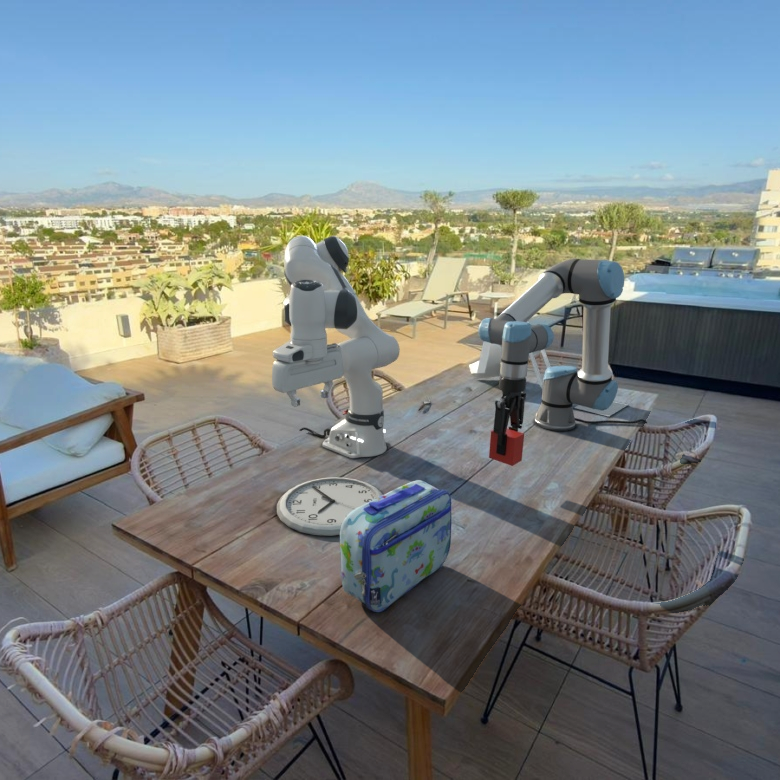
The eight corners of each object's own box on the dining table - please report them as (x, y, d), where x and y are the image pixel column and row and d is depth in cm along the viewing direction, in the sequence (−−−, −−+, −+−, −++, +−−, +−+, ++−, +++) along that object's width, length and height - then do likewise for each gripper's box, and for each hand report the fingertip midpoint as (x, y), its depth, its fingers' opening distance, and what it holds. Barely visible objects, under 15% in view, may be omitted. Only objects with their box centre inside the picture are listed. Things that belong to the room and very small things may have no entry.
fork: (415, 411, 216) (415, 406, 216) (426, 400, 231) (426, 395, 230) (421, 412, 216) (421, 407, 215) (432, 400, 230) (432, 396, 229)
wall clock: (392, 527, 129) (268, 531, 127) (391, 533, 130) (269, 537, 127) (383, 473, 158) (282, 475, 155) (383, 478, 158) (282, 480, 156)
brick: (498, 452, 162) (500, 426, 159) (521, 460, 156) (524, 433, 154) (488, 457, 158) (490, 430, 155) (512, 466, 153) (515, 438, 150)
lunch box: (369, 626, 100) (370, 530, 93) (334, 598, 107) (332, 507, 101) (455, 567, 117) (460, 483, 111) (419, 547, 124) (423, 467, 118)
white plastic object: (490, 421, 263) (470, 398, 238) (471, 347, 285) (451, 320, 260) (562, 397, 251) (549, 370, 226) (536, 322, 273) (522, 290, 248)
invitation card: (608, 416, 214) (573, 407, 224) (608, 416, 214) (573, 408, 224) (628, 404, 229) (594, 396, 238) (628, 405, 229) (594, 397, 238)
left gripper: (332, 340, 137) (333, 390, 142) (266, 352, 123) (270, 407, 127) (349, 343, 133) (349, 395, 137) (283, 357, 119) (285, 414, 123)
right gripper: (517, 368, 158) (511, 439, 165) (483, 380, 145) (478, 456, 152) (540, 373, 153) (532, 446, 160) (507, 385, 140) (500, 464, 147)
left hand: (310, 401), depth 132 cm, fingers open, 8 cm apart
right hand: (506, 450), depth 156 cm, fingers closed on brick, 5 cm apart
